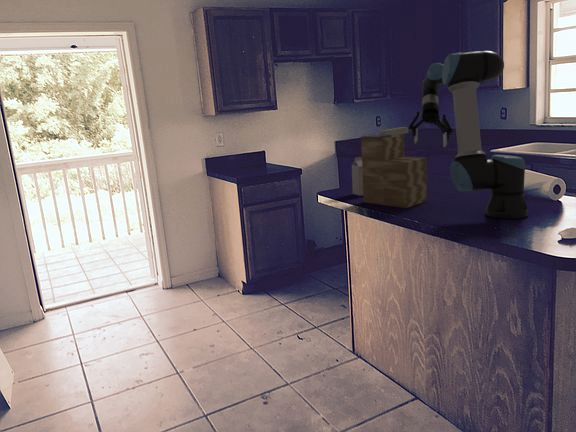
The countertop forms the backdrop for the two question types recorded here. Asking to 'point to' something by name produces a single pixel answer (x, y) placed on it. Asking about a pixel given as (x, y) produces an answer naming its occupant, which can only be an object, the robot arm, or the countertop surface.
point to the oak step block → (392, 173)
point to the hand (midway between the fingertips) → (430, 143)
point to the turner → (387, 133)
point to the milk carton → (357, 176)
